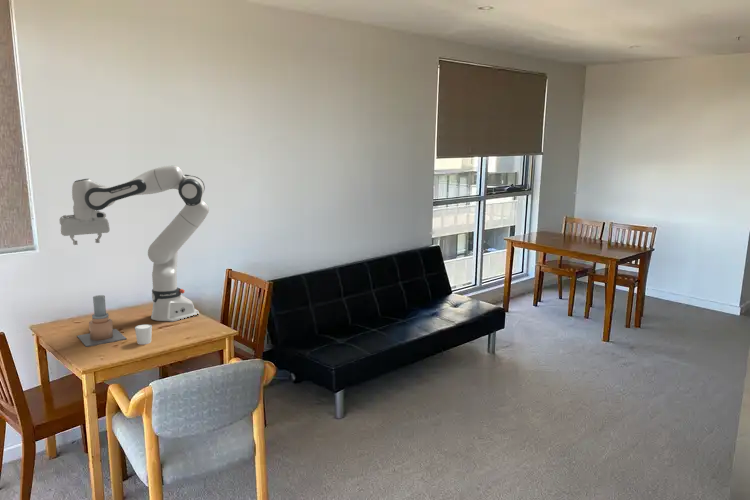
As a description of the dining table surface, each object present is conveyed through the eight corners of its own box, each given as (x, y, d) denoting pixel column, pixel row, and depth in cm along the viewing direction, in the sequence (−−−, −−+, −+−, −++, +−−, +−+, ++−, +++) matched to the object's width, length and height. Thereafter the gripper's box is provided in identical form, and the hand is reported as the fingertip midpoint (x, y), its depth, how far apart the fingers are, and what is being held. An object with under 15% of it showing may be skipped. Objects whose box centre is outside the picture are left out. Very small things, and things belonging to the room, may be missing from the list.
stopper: (106, 313, 251) (104, 293, 249) (110, 317, 246) (108, 297, 244) (90, 316, 247) (89, 296, 245) (94, 319, 242) (92, 299, 240)
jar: (116, 329, 259) (114, 309, 257) (126, 339, 247) (125, 318, 245) (77, 336, 249) (75, 315, 247) (86, 347, 237) (84, 324, 235)
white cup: (146, 345, 240) (145, 329, 239) (132, 344, 241) (131, 328, 240) (156, 340, 246) (155, 324, 245) (141, 338, 248) (140, 323, 247)
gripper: (60, 216, 254) (63, 246, 256) (109, 213, 266) (111, 242, 269) (57, 214, 258) (60, 244, 261) (105, 212, 271) (107, 240, 274)
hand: (86, 243), depth 265 cm, fingers open, 8 cm apart
